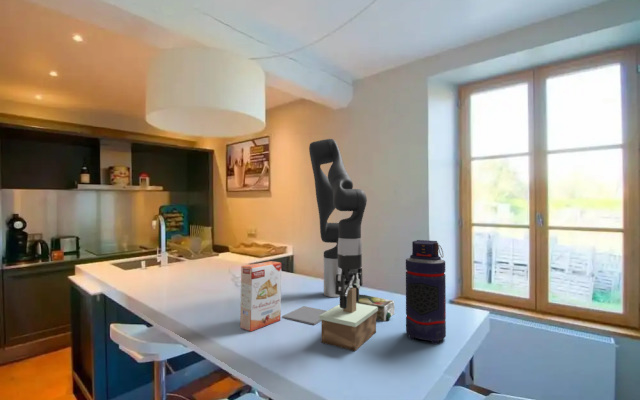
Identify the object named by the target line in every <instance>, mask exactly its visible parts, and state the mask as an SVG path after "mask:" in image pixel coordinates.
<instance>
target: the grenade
mask: <svg viewBox="0 0 640 400" xmlns="http://www.w3.org/2000/svg"><path fill="white" fill-rule="evenodd" d="M411 243H412V244H411V245H412V246H411V247H412V249H411V250H412V254H410V256H409V257H408V258H406V259H405V331H406V333H407V335H408V338H409V339H410V340H414V338H415V339H419V340H424V341H431V344H434V345H436V344H440V341H441V340H443V339H445V338H446V336H447V328H446V327H447V324H446V322H447V321H446V317H447V315H446V314H447V313H446V312H447V311H446V310H447V309H446V300H447V299H446V298H447V297H446V295H447V294H446V261H445V260H444V259H442V258H444V255H445V254H444V251H443V249H442V248H443V247H442V246H441V245H440V244H439V242H438V240H427V239H426V240H423V239H422V240H421V239H416V240H413V241H412V242H411ZM439 255H440V256H439Z"/></svg>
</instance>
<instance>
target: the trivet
mask: <svg viewBox="0 0 640 400" xmlns="http://www.w3.org/2000/svg"><path fill="white" fill-rule="evenodd" d="M326 311H327V310H325V309H320V308H315V307H310V306H305V305H304V306H301V307H298V308H297V309H294V310H292V311H290V312H288V313H286V314H284V315H282V316H281V318H282V319H285V320H286V319H287V320H290V321H294V322H300V323H305V324H308V325H312V326H315V325H317V324H320V322H321V323H322V320H320V319H319V315H321V314H323V313H324V312H326Z"/></svg>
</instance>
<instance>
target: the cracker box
mask: <svg viewBox="0 0 640 400" xmlns="http://www.w3.org/2000/svg"><path fill="white" fill-rule="evenodd" d="M240 271H241V273H240V275H241V276H240V278H241V280H240V316H239V317H240V324H239V327H240V328H241V329H243V330H246V331H249V332H252V331H255V330H259V329H260V328H264V327H266V326H268V325H271V324H274V323H277V322H279V321H281V318H282V316H281V314H282V313H281V311H282V310H281V309H282V308H281V306H282V305H281V304H282V262H280V261H274V260H273V261H270V260H269V261H263V262H259V263H253V264H252V263H251V264H246V265H241V270H240Z"/></svg>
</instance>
